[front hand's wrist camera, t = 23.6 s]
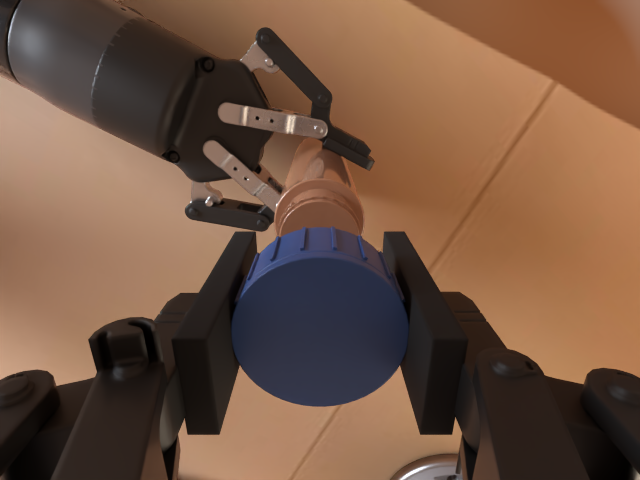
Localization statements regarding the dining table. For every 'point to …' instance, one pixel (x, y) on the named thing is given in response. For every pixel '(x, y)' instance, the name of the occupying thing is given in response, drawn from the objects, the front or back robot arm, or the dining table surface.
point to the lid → (319, 318)
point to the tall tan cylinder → (318, 193)
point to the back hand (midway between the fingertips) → (352, 193)
